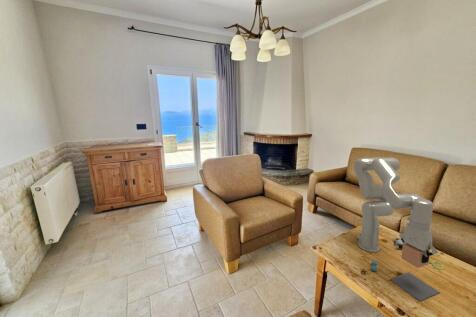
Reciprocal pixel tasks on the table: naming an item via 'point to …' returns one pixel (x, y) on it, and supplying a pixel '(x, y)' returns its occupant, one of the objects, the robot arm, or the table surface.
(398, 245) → the robot toy
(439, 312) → the table surface
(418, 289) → the charcoal mat
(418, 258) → the brown cube
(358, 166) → the robot arm
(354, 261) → the table surface
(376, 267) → the teal marble
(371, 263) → the teal marble
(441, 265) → the key
